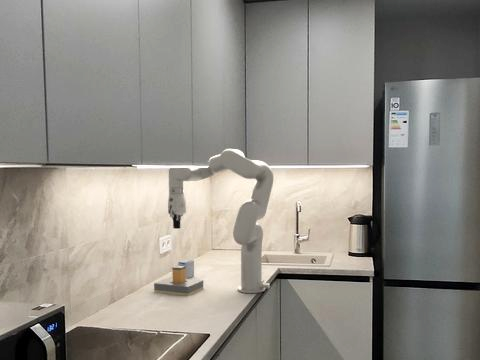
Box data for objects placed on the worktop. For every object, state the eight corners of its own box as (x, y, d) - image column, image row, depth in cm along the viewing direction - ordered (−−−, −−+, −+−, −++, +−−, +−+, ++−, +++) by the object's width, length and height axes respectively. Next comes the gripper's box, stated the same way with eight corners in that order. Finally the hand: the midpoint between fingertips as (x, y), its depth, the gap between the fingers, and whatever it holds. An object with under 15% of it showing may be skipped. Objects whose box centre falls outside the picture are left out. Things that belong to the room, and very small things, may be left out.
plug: (185, 287, 226) (185, 266, 225) (180, 289, 222) (180, 267, 221) (177, 286, 227) (177, 265, 227) (172, 288, 223) (172, 267, 223)
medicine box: (187, 275, 256) (187, 259, 256) (194, 276, 254) (194, 260, 254) (178, 278, 250) (178, 261, 249) (185, 279, 247) (184, 262, 247)
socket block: (203, 288, 227) (203, 280, 227) (188, 295, 214) (188, 286, 214) (170, 285, 235) (170, 277, 234) (154, 291, 222) (154, 283, 222)
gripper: (174, 192, 231) (175, 230, 231) (190, 190, 245) (191, 227, 245) (161, 191, 234) (162, 229, 234) (177, 190, 248) (178, 226, 248)
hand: (176, 228), depth 240 cm, fingers closed
